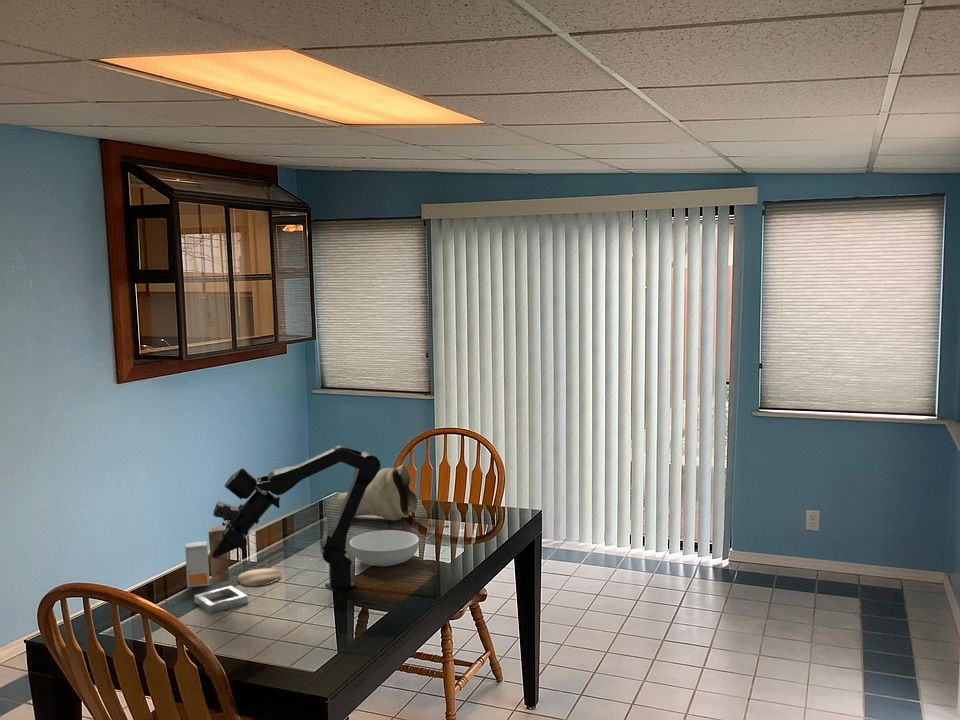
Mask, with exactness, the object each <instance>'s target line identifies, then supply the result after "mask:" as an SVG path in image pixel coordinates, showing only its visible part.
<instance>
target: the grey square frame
mask: <svg viewBox="0 0 960 720" xmlns="http://www.w3.org/2000/svg"><path fill="white" fill-rule="evenodd" d="M228 596H229V598H226V599H223V600H219V601H214V602H213V600H217V599H220V598H224V597H228ZM193 598H194V603H195V604H196V605H198V606H200V607H201V608H203V610H205V611H207V612H208V613H209V614H214V613H216V612H220V611H224V610H226V609H231V608H234V607H238V606H241V605H245V604H248V603H249V600H248V598H249V597H248V595H247V594H245V593H244V592H242V591H240V590H239V589H237V588H236V587H234V586H233V585H228V586H223V587H219V588H216V589H213V590H208V591H205V592H201V593H197V594H194V596H193ZM247 602H248V603H247Z"/></svg>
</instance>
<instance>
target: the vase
mask: <svg viewBox="0 0 960 720" xmlns="http://www.w3.org/2000/svg"><path fill="white" fill-rule="evenodd" d="M411 478H412V477H411V475H410V471H409V470H408V468H407V467H406V466H405V465H404V464H401V465H399V466H398V467H396V468H395V467H394V468H393V467H385V468H382V469H380V470H379V472H378V473H377V475H376V476H375V478H374V479H373V481H372V482H371V483H370V484H369V485H368V486H367V488H366V490H365V492H364V495H363V497H362V499H361V502H360V504H359V507H358V509H357V511H356V514H355V516H354V518H355V517H359V516H360V517H361V516H377V517H381V518H383V519H385V520H387V521H395V522H396V521H399V520H400V519H402V518H408V517H409V516H410V514H411V513H416V512H417V509H418V498H417V497H418V496H417V494H416V493H415V491H414V490H413V489H412V488H411V483H412V479H411ZM347 494H348V492H347V491H346V492H342V493H340V494H338V496H337V506H338V510H339V511H340V510H341V508H342V506H343V503H344V501H345V499H346V496H347Z"/></svg>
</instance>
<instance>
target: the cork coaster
mask: <svg viewBox="0 0 960 720" xmlns="http://www.w3.org/2000/svg"><path fill="white" fill-rule="evenodd" d="M280 576H281V571H280V570H278V569H276V568H268V567H267V568H255V569H251V570H247V571H244V572H242V573H240V574H239V575H238V577H237V580H238V583H239V584H240V585H242V586H244V587H245V586H246V587H259V586H258V585H262V586H265V585H264V584H267V583H270V582H272V581H275V580H277V579H279V578H280ZM280 579H281V578H280ZM280 579H279V580H280ZM267 585H268V584H267Z"/></svg>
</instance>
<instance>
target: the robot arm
mask: <svg viewBox="0 0 960 720" xmlns="http://www.w3.org/2000/svg"><path fill="white" fill-rule="evenodd" d="M339 463H343V464H346V465H348V466H351V467H352V468H354V469H353V470H354V471H353V478H352V479H353V480H352V482H351V485H350V487H349V489H348V494H347V496H346V499H345V501H344V503H343V506H342V508H341V510H339V513H338V516H337V518H336V521H335V523H334V525H333V527H332V528H331V529H330V530H329V531H328V530H327V529H324V531H323V534H322V538H321V539H320V541H319V542H318V543H319V546H320V547H319V550H320V553H321V556H322V558H323V560H324V562H326V563H327V564H328V569H329V570H328V572H329V582H328V583H327V582H326V583H325V584H324V585H325V587H327V588H328V589H330V590H332V591H335V592H341V591H343V590H346V589H351V588H354V587H356V586H357V585H356V583H354V582H353V581H352V576H351V574H352V573H351V567H352V562H353V561H352V560H351V557H350V555H349V553H348V551H346V545H347V544H346V543H347V536H348V533H349V530H350V528H351V525H352V523H353V520H354V518H355V517H356V516H355V514H356V511H357V509H358V507H359V504H360V502H361V499H362V497H363V495H364V492H365V490H366V488H367V486H368V485H369V484H370V483H371V482H372V481H373V479H374V478H375V476H376V475H377V473H378V472H379V471H380V470H381V465H382V464H381V461H380V459H379V458H378V457H377V456H376V455H375V454H374V453H373V452H371V451H363V452H362V451H359V450H356V449H352V448H349V447H346V446H343V445H341V444H340V445H336V446H334V447H333V448H331V449H329V450H327V451H324V452H323V453H320V454H317V455H315V456H314V457H311V458H310V459H307V460H304V461H303V462H300V463H299V464H296V465H293V466H287V467H286V466H285V467H282V468H277V469H274V470H272V471H270V472H269V473H268V474H267V475H263V476H258V477H254V475H251V474H250V473H249V472H248V471H247V469H246V468H244V467H240V469H239V470H237V471H236V472H234V474H232V475H231V476H230V477H229V478H228V479H227V481H226V482H225V484H224V488H225V489H227V490H228V491H229V492H230V493H232V494H233V495H234V496H235V497H236V498H238V499H239V500H242V499H244V500H246V501H245V502H244V504H243V503H241V504H239V505H238V506H234V505H232V504H228V503H226V502H223V501H218V500H217V501H216V505H215V507H214V509H213V513H212V515H213V516H214V517H216V518H221V519H222V520H223V522H222V524H221V526H225V525H226V530H225V532H224V531H223V539H222V541H221V542H220V544H219V545H218V547H217V549H216V550H215V552H214V553H213V555H212V556H213V557H214V558H217V557H219V556H221V555H223V554H225V553H227V552H228V553H230V552H231V551H233V550H236V549H240V550H244V548H245V547H246V546H247V545H248V539H247V538H248V537H247V536H248V535H249V534H250V530H251V529H252V528H253V526H254V525H255V524H256V525H258V523H259V522H260V519H261V518H262V516H263V515H264V514H265V513H267V511H269V509H270V508H271V506H272V505H273V506H275V508H277V509H279V508H280V507H281V505H280V499H281V497H280V496H281V495H285V493H287V492H288V491H290V490H291V489H293V488H294V487H295V486H296V485H298V484H299V483H300V482H301V481H303V480H304V479H306V478H310V476H313V475H315V474H318V473H320V472H321V471H324V470H326V469H328V468H330V467H332V466H334V465H337V464H339ZM354 516H355V517H354ZM355 585H356V586H355ZM353 586H354V587H353Z"/></svg>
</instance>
